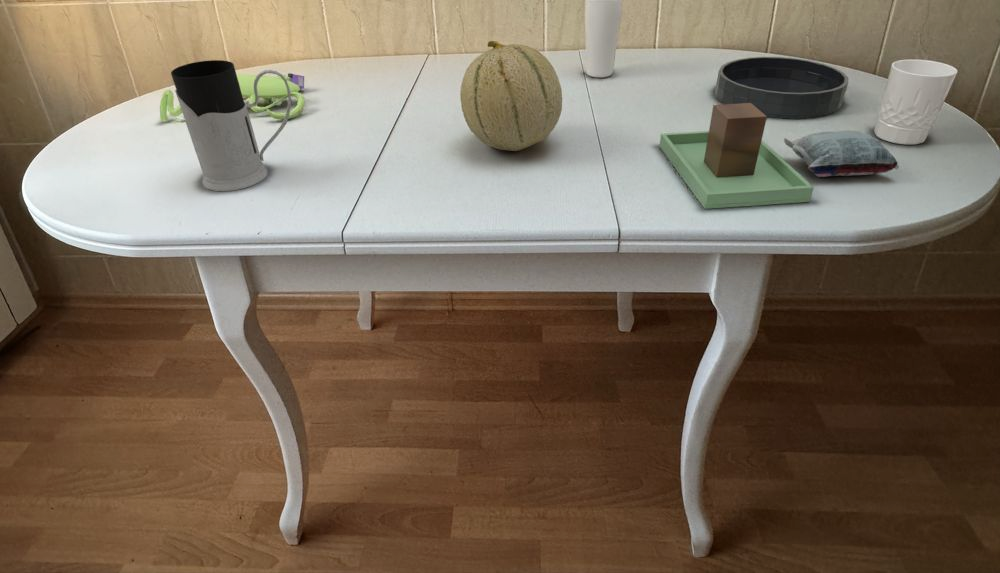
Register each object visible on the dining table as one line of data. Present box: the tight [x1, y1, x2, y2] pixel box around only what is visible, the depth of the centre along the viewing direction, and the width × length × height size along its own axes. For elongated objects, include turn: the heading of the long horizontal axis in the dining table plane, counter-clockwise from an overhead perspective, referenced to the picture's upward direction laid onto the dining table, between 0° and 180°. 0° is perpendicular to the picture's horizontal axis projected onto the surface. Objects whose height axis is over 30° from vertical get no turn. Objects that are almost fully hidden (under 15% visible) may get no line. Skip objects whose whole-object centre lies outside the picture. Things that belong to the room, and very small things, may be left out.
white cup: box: [873, 58, 958, 146], centre depth 89 cm, size 8×8×10 cm
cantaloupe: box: [459, 40, 563, 152], centre depth 89 cm, size 15×15×15 cm
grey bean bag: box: [783, 130, 900, 178], centre depth 82 cm, size 9×12×5 cm
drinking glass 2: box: [584, 0, 624, 79], centre depth 116 cm, size 7×7×15 cm
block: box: [704, 103, 768, 178], centre depth 81 cm, size 5×5×8 cm
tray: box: [659, 130, 815, 210], centre depth 83 cm, size 19×13×2 cm
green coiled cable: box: [159, 72, 306, 123], centre depth 111 cm, size 18×27×6 cm
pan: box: [714, 56, 849, 120], centre depth 106 cm, size 20×20×4 cm
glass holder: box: [170, 59, 292, 192], centre depth 84 cm, size 9×14×15 cm, turn 111°
